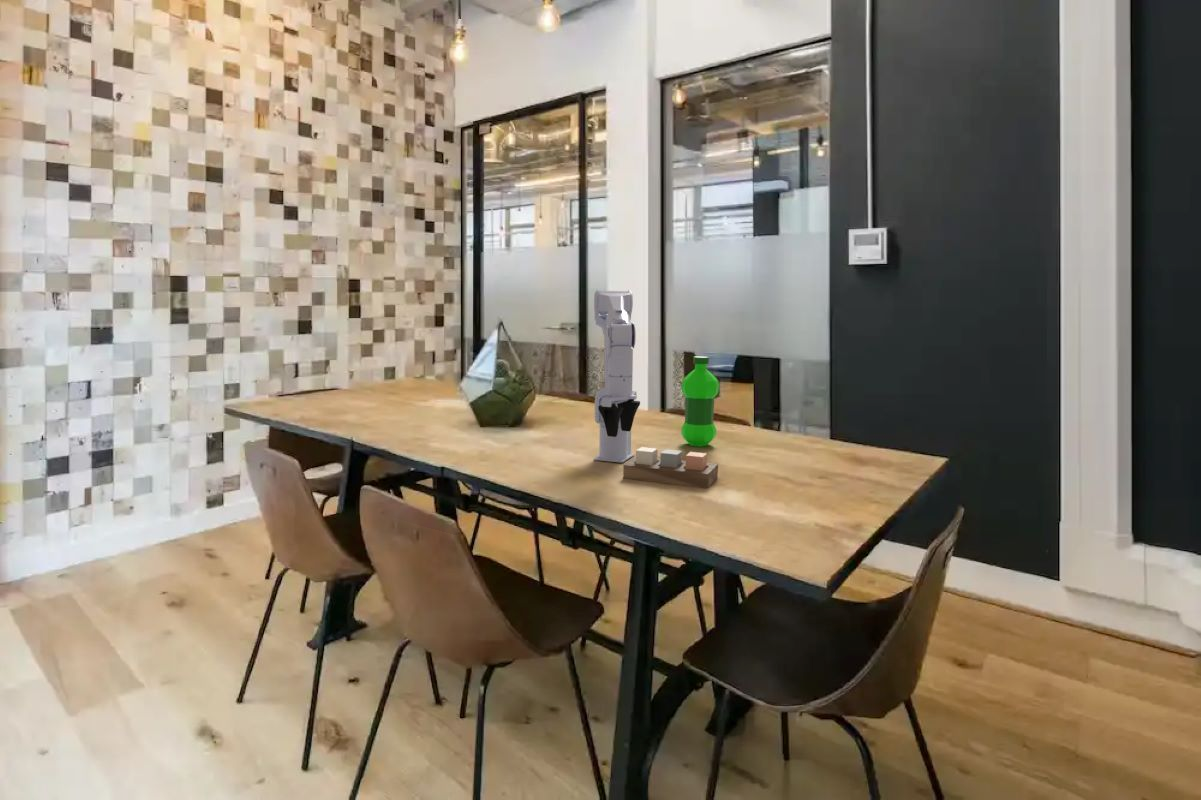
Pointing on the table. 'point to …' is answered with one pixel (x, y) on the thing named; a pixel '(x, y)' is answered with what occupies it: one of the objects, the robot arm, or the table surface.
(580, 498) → the table surface
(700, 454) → the key terracotta
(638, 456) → the key ivory
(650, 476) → the frame
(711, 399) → the plastic bottle
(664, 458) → the key slate
